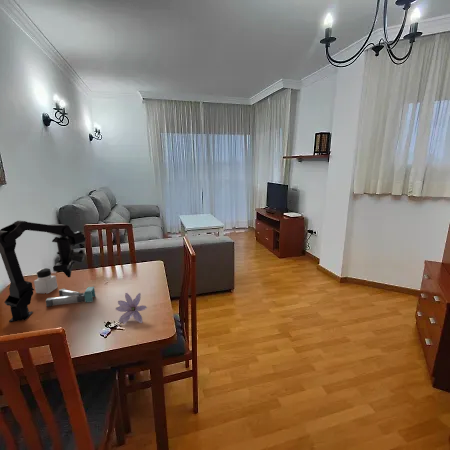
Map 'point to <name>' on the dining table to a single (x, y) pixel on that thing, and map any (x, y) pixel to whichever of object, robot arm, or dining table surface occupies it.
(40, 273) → the medicine bottle
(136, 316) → the purple flower
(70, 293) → the tong arm
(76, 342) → the dining table surface
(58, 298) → the tong frame
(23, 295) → the robot arm
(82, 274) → the dining table surface
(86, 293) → the teal notched block
